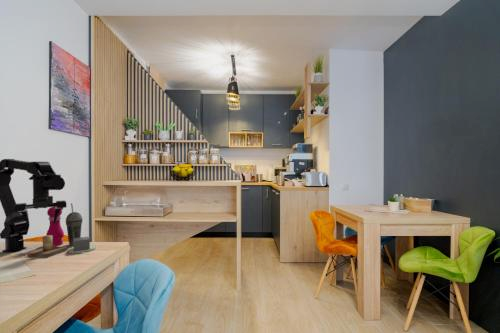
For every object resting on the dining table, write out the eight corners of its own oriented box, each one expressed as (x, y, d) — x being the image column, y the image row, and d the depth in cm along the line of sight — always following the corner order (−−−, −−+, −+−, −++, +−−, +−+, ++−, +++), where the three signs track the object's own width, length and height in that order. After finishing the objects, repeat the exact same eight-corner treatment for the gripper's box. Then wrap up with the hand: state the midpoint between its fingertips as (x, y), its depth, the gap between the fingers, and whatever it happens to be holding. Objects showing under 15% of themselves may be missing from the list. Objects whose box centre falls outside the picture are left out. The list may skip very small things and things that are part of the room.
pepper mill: (67, 242, 146) (66, 202, 146) (56, 246, 139) (55, 204, 139) (54, 242, 147) (53, 202, 147) (42, 246, 140) (41, 204, 140)
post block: (27, 256, 124) (27, 238, 124) (48, 249, 134) (47, 233, 134) (47, 257, 123) (47, 239, 122) (66, 250, 132) (66, 233, 132)
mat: (61, 252, 129) (61, 251, 129) (80, 245, 140) (80, 244, 140) (83, 253, 127) (83, 252, 127) (100, 246, 137) (100, 245, 137)
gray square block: (73, 248, 134) (73, 238, 134) (88, 246, 137) (88, 236, 137) (74, 251, 129) (74, 241, 129) (89, 249, 132) (89, 239, 132)
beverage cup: (86, 242, 145) (85, 202, 145) (73, 246, 138) (72, 204, 138) (75, 241, 148) (74, 202, 148) (62, 245, 141) (61, 203, 141)
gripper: (11, 192, 118) (12, 231, 118) (66, 189, 129) (67, 225, 129) (14, 190, 127) (15, 226, 127) (65, 188, 138) (66, 221, 138)
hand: (41, 225), depth 130 cm, fingers open, 9 cm apart
